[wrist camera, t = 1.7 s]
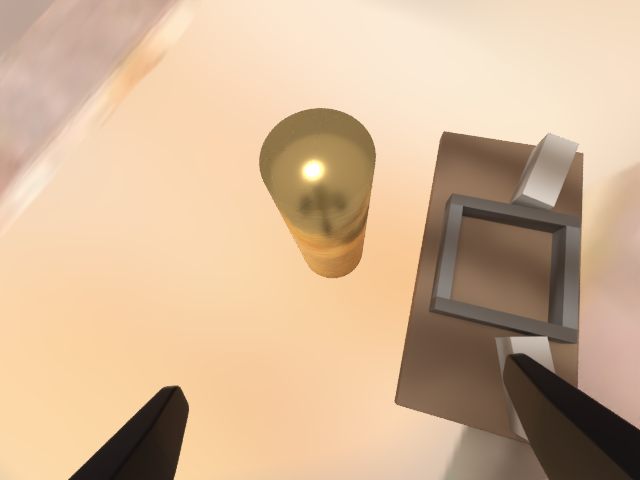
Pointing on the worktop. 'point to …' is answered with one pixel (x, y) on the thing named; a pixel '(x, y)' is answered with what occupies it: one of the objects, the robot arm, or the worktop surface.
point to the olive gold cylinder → (321, 185)
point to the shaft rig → (494, 277)
